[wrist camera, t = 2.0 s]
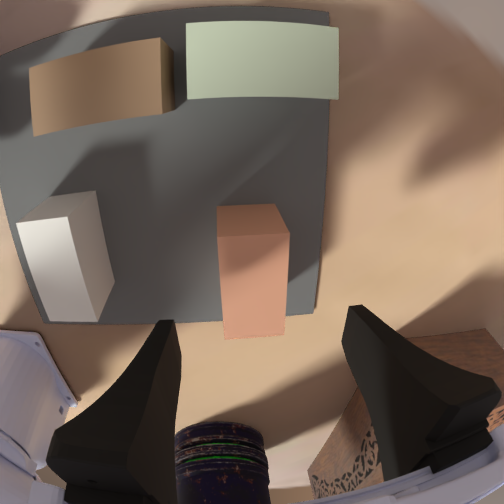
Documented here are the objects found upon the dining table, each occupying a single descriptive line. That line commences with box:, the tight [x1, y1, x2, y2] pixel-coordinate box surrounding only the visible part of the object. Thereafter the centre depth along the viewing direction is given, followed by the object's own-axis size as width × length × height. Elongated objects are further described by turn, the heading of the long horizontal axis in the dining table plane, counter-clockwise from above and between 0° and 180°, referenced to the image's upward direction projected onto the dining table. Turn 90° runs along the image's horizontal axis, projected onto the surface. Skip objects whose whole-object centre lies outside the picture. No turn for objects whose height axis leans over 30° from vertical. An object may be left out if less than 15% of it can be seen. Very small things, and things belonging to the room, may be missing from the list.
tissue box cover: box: [307, 329, 504, 500], centre depth 27 cm, size 26×14×10 cm, turn 173°
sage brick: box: [186, 21, 339, 100], centre depth 12 cm, size 6×3×4 cm, turn 90°
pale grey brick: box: [16, 190, 115, 322], centre depth 16 cm, size 6×3×4 cm, turn 0°
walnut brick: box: [29, 37, 175, 137], centre depth 12 cm, size 6×3×4 cm, turn 90°
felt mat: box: [0, 6, 329, 324], centre depth 17 cm, size 19×20×1 cm
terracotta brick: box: [217, 204, 290, 340], centre depth 17 cm, size 6×3×4 cm, turn 0°
